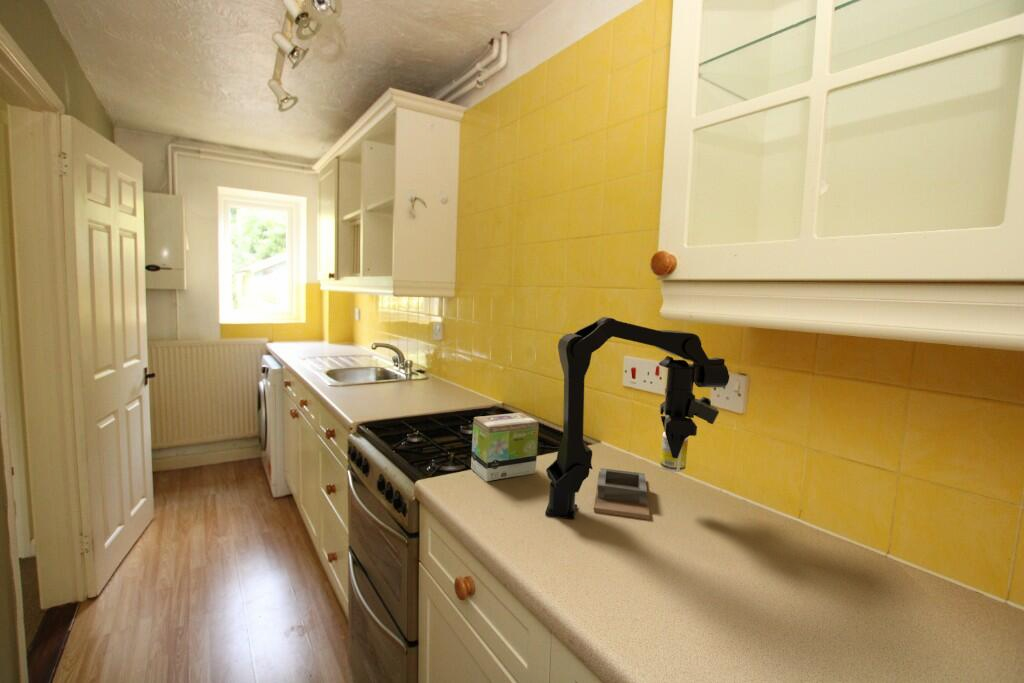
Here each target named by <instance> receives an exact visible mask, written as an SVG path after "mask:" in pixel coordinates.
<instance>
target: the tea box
mask: <svg viewBox="0 0 1024 683" xmlns="http://www.w3.org/2000/svg"><path fill="white" fill-rule="evenodd" d="M472 423H473V425H472V438H471V439H472V440H471V441H472V442H471V458H470V460H471V462H470V463H471V465H470V468H471V469H472V471H473V472H475V474H476V475H478V476H479V478H481V479H482V480H484V481H485V482H486V483H487V482H491V481H495V480H500V479H507V478H513V477H514V478H515V477H520V476H526V475H527V476H528V475H533V474H536V469H537V457H538V442H539V441H538V440H539V439H538V438H539V425H540V424H539V421H538V420H537V419H534V418H532V417H531V416H529V415H526V414H524V413H522V412H513V413H504V414H503V413H502V414H495V415H494V414H493V415H492V414H491V415H485V416H484V415H483V416H481V415H480V416H475V417H473V422H472Z"/></svg>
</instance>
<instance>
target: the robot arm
mask: <svg viewBox="0 0 1024 683" xmlns="http://www.w3.org/2000/svg"><path fill="white" fill-rule="evenodd" d="M699 336H700V335H698V334H695V333H692V332H686V331H681V330H672V329H671V330H669V329H668V330H667V329H663V330H661V329H660V330H658V329H653V328H649V327H645V326H642V325H641V326H640V325H636V324H633V323H628V322H623V321H619V320H617V319H616V318H613V317H608V316H607V317H606V316H602V317H600V318H599V319H598V320H595V321H594V322H593V323H590V324H589V325H586V326H583V327H582V328H580V329H579V330H577V331H575V332H573V333H572V332H571V333H566V334H565V335H563V336H562V337H561V338H559V340H558V343H557V352H558V356H559V361H560V362H559V363H560V366H561V369H562V372H563V420H562V422H563V429H562V431H563V432H562V439H561V441H560V443H559V445H558V450H557V454H556V459H555V460H554V461H553V462H552V463H551V464H550V465H549V466H548V467H547V468H546V469H545V471H546V474H547V477H548V479H549V480H550V482H549V493H548V494H549V496H548V497H549V498H548V503H547V506H546V510H545V511H544V515H545V516H548V517H554V518H555V517H556V518H561V519H569V520H575V518H576V514H577V511H578V504H577V503H576V493H579V492H580V490H581V487H582V485H583V482H584V481H585V480H586V479H587V478H589V476H590V471H591V470H593V465H592V459H593V450H592V449H591V447H589V445H587V444H586V443H585V442H584V424H585V423H584V420H585V419H584V418H585V417H584V416H585V414H584V413H585V412H584V411H585V378H586V375H587V372H588V370H589V367H590V364H591V361H592V356H593V353H594V352H595V351H597V350H598V349H600V348H601V347H602V346H603V345H605V343H606V342H608V340H610V339H611V338H612V337H613V338H616V339H617V338H618V339H622V340H626V341H631V342H635V343H639V344H644V345H647V346H652V347H655V348H657V349H659V350H660V351H663V352H665V353H667V354H670V355H672V356H675V357H679V358H681V359H674V358H673V357H672V356H670V355H666V357H665V358H664V359H662V360H661V361H660V362H658V365H659V366H660V367H663V368H666V369H667V374H666V375H667V376H666V384H665V386H666V387H665V388H664V394H665V397H664V398H665V399H664V401H663V402H662V403H660V406H659V414H660V415H661V416H660V419H661V422H662V426H663V430H664V432H665V434H666V437H667V441H668V444H669V447H670V451H671V454H672V457H673V458H678V456H679V453H680V451H681V448H682V445H683V443H684V440H685V438H687V437H688V438H689V437H691V436H692V437H695V436H697V433H698V431H697V430H698V426H697V425H696V422H695V421H694V420H693V419H694V417H697V418H698V419H699V418H700V419H701V420H703V421H706V422H707V423H708V424H710V425H714V424H715V421H716V419H717V418H718V415H719V414H720V411H719V409H718V408H717V407H716V406H714V405H712V404H711V403H712V401H711V400H710V398H708V397H706V396H702V397H701V398H696V395H695V394H694V385H695V386H696V387H697V388H725V387H726V386H727V385H728V383H729V381H730V374H729V370H728V367H727V366H726V364H725V361H726V360H725V359H724V358H722V357H711V358H710V357H708V355H707V354H706V352H705V350H704V348H703V347H702V341H701V338H700V337H699ZM686 360H687V361H688V362H689V361H690V362H692V363H688V362H687V361H686Z"/></svg>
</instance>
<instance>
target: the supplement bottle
mask: <svg viewBox="0 0 1024 683" xmlns="http://www.w3.org/2000/svg"><path fill="white" fill-rule="evenodd" d="M661 437H662V439H661V452H660V466H661V468H662V469H663V470H665V471H668V472H672V473H681V472H684V471H685V470H686V466H687V457H688V456H687V455H688V446H689V445H688V444H689V436H688V437H687V438H685V440H684V443H683V445H682V448H681V451H680V453H679V456H678V458H673V457H672V454H671V451H670V447H669V444H668V441H667V437H666V434H665V431H664V432H663V433H662V436H661Z"/></svg>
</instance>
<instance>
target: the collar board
mask: <svg viewBox="0 0 1024 683" xmlns="http://www.w3.org/2000/svg"><path fill="white" fill-rule="evenodd" d="M597 476H598V477H597V483H596V491H595V498H594V504H593V513H599V514H606V515H613V516H621V517H628V518H633V519H642V520H647V521H649V520H650V509H649V500H648V499H649V498H648V489H647V482H646V481H647V480H646V479H647V478H646V473H643V472H635V471H629V470H627V471H626V470H619V469H612V468H611V469H609V468H604V467H603V468H602V467H600V470H599V471H598V475H597Z"/></svg>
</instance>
